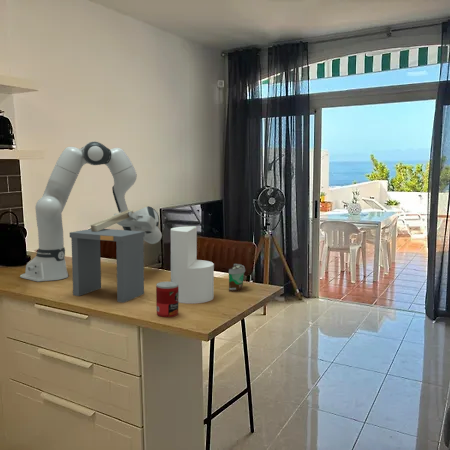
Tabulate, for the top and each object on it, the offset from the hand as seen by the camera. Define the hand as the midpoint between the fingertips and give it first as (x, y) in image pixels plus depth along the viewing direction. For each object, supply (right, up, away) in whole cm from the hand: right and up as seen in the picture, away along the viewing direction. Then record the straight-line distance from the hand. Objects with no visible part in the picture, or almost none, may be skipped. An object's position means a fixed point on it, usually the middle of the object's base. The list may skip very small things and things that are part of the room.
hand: (124, 213), depth 203 cm
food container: (+51, -33, -6) cm, 61 cm away
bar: (-3, -4, -7) cm, 9 cm away
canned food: (+25, -37, -42) cm, 61 cm away
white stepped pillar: (+32, -35, -20) cm, 51 cm away
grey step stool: (-3, -34, -17) cm, 38 cm away
